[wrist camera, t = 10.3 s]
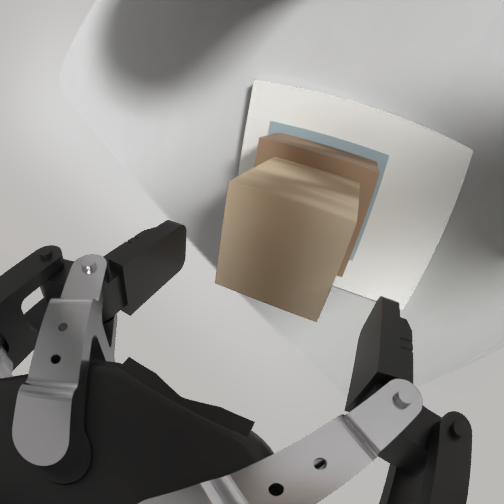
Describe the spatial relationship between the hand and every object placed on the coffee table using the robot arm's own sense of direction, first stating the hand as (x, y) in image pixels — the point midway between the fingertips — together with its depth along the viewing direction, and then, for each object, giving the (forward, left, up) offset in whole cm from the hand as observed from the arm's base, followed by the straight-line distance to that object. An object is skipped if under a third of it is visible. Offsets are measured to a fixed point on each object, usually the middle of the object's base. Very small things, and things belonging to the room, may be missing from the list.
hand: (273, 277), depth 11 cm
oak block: (0, 0, -7) cm, 7 cm away
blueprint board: (-2, 0, -12) cm, 12 cm away
